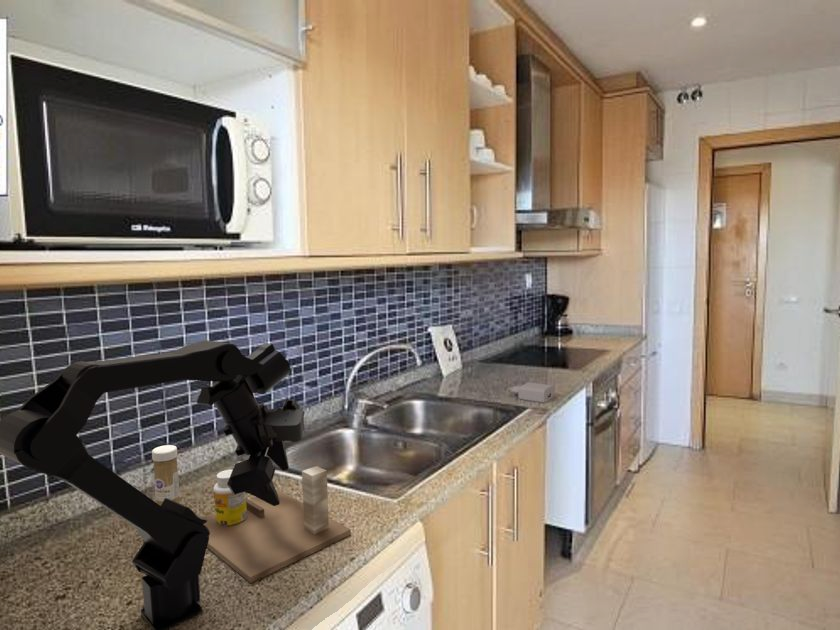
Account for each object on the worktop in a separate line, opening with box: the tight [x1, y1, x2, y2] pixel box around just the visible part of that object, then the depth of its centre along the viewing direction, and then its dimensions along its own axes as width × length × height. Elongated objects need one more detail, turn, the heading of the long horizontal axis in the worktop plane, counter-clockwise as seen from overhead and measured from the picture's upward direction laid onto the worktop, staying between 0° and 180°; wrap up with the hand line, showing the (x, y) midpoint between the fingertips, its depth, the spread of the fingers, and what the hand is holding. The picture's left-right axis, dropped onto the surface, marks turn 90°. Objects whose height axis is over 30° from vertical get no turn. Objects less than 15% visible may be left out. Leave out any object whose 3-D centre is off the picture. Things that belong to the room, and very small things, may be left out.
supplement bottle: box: [212, 469, 247, 526], centre depth 103 cm, size 6×6×10 cm
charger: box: [507, 382, 555, 404], centre depth 190 cm, size 5×9×15 cm
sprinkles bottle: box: [151, 444, 181, 506], centre depth 108 cm, size 5×5×14 cm
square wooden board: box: [200, 465, 352, 584], centre depth 100 cm, size 20×25×12 cm
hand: (281, 486), depth 92 cm, fingers open, 9 cm apart
